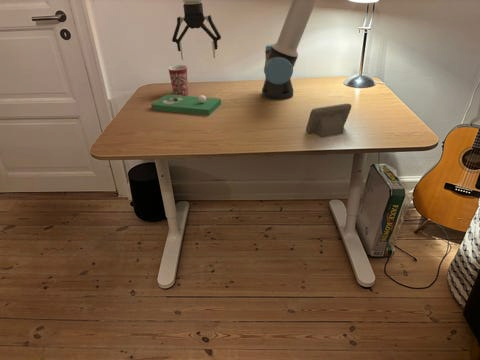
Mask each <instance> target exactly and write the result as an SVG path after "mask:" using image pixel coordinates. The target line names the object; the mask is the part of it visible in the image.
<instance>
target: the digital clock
mask: <svg viewBox="0 0 480 360" xmlns="http://www.w3.org/2000/svg"><path fill="white" fill-rule="evenodd" d="M351 110H352V104H351V103H339V104H333V105H326V106H322V107H315V108H312V109H311V111H310V114H309V117H308V121H307V125H306V127H305V132H306V133H308V134H313V133H315V134H316V135H318V137H320V138H328V137H333V136H338V135H343V134H344V129H345V124H346V122H347V120H348V117H349V115H350V113H351Z"/></svg>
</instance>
